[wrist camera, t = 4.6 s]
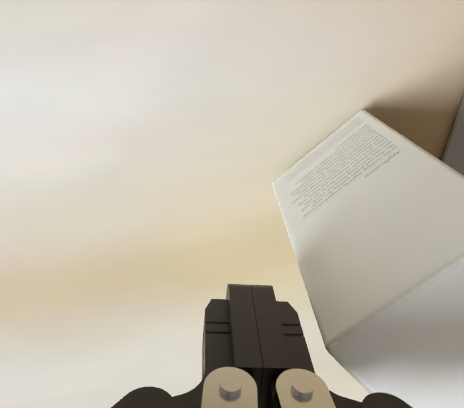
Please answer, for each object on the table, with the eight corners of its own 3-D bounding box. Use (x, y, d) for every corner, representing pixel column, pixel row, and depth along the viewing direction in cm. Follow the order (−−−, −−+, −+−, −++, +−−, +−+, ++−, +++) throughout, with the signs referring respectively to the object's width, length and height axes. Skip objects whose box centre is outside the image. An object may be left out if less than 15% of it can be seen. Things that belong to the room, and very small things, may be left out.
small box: (441, 208, 25) (650, 392, 13) (351, 271, 26) (462, 487, 14) (362, 103, 22) (533, 213, 10) (267, 180, 24) (319, 354, 12)
